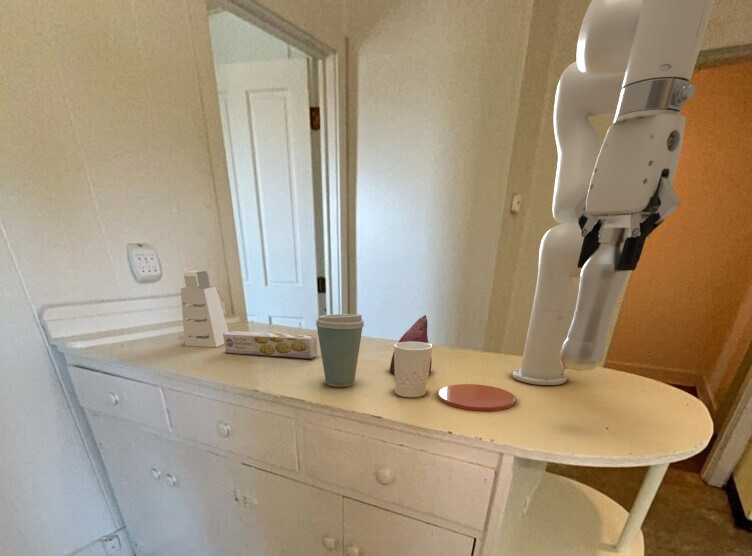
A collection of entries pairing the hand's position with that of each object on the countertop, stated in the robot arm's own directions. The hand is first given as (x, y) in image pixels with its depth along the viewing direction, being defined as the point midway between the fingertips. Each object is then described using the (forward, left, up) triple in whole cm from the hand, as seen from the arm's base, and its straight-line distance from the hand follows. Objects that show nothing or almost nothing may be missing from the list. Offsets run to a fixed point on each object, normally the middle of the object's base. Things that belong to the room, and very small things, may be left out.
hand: (605, 267), depth 64 cm
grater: (+47, -101, -25) cm, 114 cm away
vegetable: (+6, -44, -25) cm, 51 cm away
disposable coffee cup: (+26, -42, -25) cm, 55 cm away
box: (+33, -77, -25) cm, 87 cm away
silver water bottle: (0, 0, -15) cm, 15 cm away
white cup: (+15, -29, -25) cm, 41 cm away
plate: (+4, -20, -25) cm, 32 cm away
